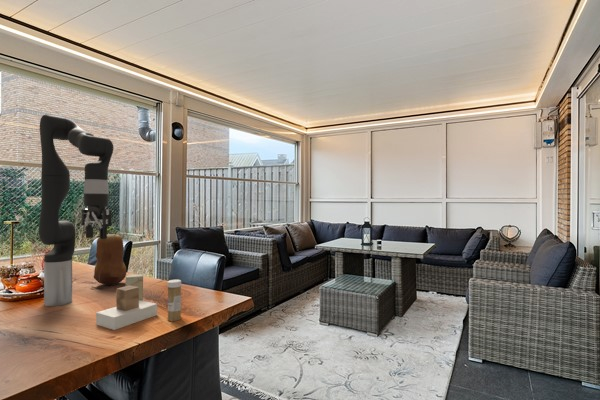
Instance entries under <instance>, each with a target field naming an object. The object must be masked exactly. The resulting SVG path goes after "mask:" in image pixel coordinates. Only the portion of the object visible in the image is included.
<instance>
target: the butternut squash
mask: <svg viewBox="0 0 600 400" xmlns="http://www.w3.org/2000/svg"><path fill="white" fill-rule="evenodd" d="M124 251H125V248H124V239H123V237H122V236H121V235H120V234H114V233H113V234H111V233H109V234H108V233H107V238H106V239H100V236H99V237H98V238H97V240H96V252H95V258H96V264H95V267H94V271H93V272H94V273H93V278H94V280H95V281H96V282H97V283H99V284H100V285H107V284H108V286H115V285H114V284H116V285H117V284H119V283H122V281H124V280H125V279H126V275H127V267H126V265H125V262H124V259H123V258H124Z"/></svg>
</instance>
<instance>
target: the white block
mask: <svg viewBox="0 0 600 400" xmlns="http://www.w3.org/2000/svg"><path fill="white" fill-rule="evenodd" d="M156 316H158V303H154V302H151V301H145V300H143V301H142V300H139V307H138V308H134V309H131V310H128V311H123V310H119V309H116V306H113V307H110V308H107V309H104V310H103V309H102V310H100V311H96V312H95V325H97V326H99V327H102V328H106V329H110V330H113V331H115V330H119V329H121V328H124V327H127V326H130V325H133V324H135V323H139V322H141V321H144V320H147V319H149V318H152V317H156Z"/></svg>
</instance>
